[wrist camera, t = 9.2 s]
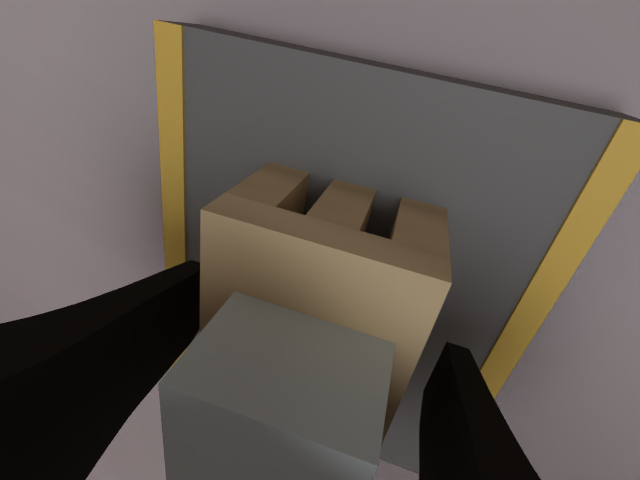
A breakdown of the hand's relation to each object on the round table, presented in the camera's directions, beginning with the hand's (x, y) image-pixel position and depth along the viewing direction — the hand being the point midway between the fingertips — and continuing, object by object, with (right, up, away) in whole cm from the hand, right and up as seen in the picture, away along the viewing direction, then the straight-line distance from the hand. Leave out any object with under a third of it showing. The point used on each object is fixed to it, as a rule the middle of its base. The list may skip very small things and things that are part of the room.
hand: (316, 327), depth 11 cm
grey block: (0, -1, -2) cm, 2 cm away
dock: (+1, +1, +3) cm, 3 cm away
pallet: (0, +1, +1) cm, 1 cm away
